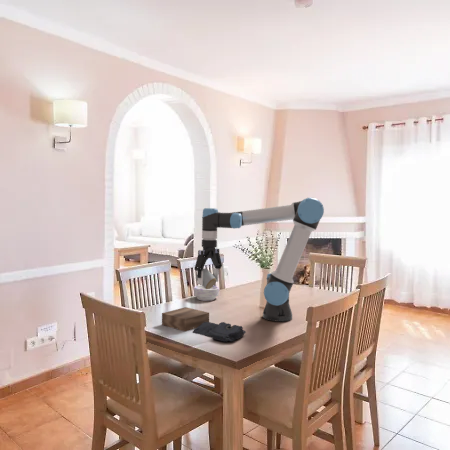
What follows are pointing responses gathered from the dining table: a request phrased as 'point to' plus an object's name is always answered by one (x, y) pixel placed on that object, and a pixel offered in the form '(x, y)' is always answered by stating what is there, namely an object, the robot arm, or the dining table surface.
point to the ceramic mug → (208, 279)
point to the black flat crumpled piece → (220, 331)
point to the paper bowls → (206, 293)
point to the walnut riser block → (184, 318)
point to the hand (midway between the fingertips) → (208, 282)
